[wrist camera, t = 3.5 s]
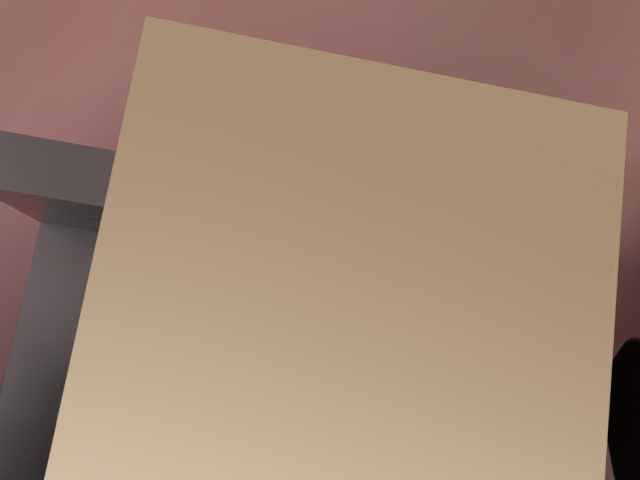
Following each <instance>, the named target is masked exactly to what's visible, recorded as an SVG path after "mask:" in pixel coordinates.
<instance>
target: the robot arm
mask: <svg viewBox="0 0 640 480" xmlns="http://www.w3.org/2000/svg"><path fill="white" fill-rule="evenodd" d="M607 441H608V446H609V452H610V457H611V462H612V468H613V473H614V478H615V480H640V337H634V338H631V339H629V340H627V341H626V342H625V343H624V344H623V346H622V347H621V349H620V350H619V351H618V353H617V354H616V356H615V357H614V359H613V360H612V373H611V388H610V404H609V419H608V435H607Z"/></svg>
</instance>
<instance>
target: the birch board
mask: <svg viewBox="0 0 640 480" xmlns="http://www.w3.org/2000/svg"><path fill="white" fill-rule="evenodd" d="M627 123H628V112H625V111H620V110H614V109H610V108H604V107H599V106H594V105H589V104H584V103H579V102H574V101H569V100H564V99H559V98H554V97H549V96H544V95H539V94H534V93H529V92H524V91H519V90H514V89H509V88H504V87H499V86H494V85H489V84H484V83H479V82H474V81H469V80H464V79H459V78H454V77H449V76H444V75H439V74H434V73H429V72H424V71H419V70H414V69H409V68H404V67H399V66H394V65H389V64H384V63H379V62H374V61H369V60H364V59H359V58H354V57H349V56H344V55H339V54H334V53H329V52H324V51H319V50H314V49H309V48H304V47H299V46H294V45H289V44H284V43H279V42H274V41H269V40H264V39H259V38H254V37H249V36H244V35H239V34H234V33H229V32H224V31H219V30H214V29H209V28H204V27H199V26H194V25H189V24H184V23H179V22H174V21H169V20H164V19H159V18H154V17H149V16H146V17H145V22H144V27H143V31H142V36H141V40H140V45H139V49H138V54H137V58H136V63H135V68H134V72H133V77H132V81H131V86H130V90H129V95H128V100H127V104H126V109H125V113H124V118H123V122H122V127H121V131H120V136H119V141H118V145H117V150H116V154H115V159H114V163H113V168H112V172H111V177H110V182H109V186H108V191H107V195H106V200H105V204H104V209H103V214H102V218H101V223H100V227H99V232H98V236H97V241H96V245H95V250H94V255H93V259H92V264H91V268H90V273H89V277H88V282H87V286H86V291H85V296H84V300H83V305H82V309H81V314H80V318H79V323H78V328H77V332H76V337H75V341H74V346H73V350H72V355H71V359H70V364H69V369H68V373H67V378H66V382H65V387H64V391H63V396H62V400H61V405H60V410H59V414H58V419H57V423H56V428H55V432H54V437H53V442H52V446H51V451H50V455H49V460H48V464H47V469H46V473H45V478H44V480H605V466H606V451H607V435H608V419H609V404H610V388H611V373H612V357H613V341H614V326H615V310H616V295H617V279H618V263H619V248H620V232H621V216H622V201H623V185H624V170H625V154H626V138H627Z"/></svg>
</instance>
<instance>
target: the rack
mask: <svg viewBox="0 0 640 480" xmlns="http://www.w3.org/2000/svg"><path fill="white" fill-rule="evenodd" d="M115 154H116V151H112V150H106V149H101V148H95V147H90V146H84V145H78V144H73V143H67V142H62V141H56V140H50V139H45V138H39V137H33V136H28V135H22V134H17V133H11V132H5V131H0V201H2V202H4V203H6V204H7V205H9V206H11V207H13V208H15V209H17V210H19V211H21V212H22V213H24V214H26V215H28V216H30V217H32V218H34V219H36V220H37V221H39V222H41V225H40V229H39V233H38V238H37V242H36V246H35V250H34V255H33V259H32V263H31V267H30V271H29V276H28V280H27V284H26V288H25V293H24V297H23V301H22V305H21V309H20V314H19V318H18V322H17V326H16V331H15V335H14V339H13V343H12V347H11V352H10V356H9V360H8V364H7V368H6V373H5V377H4V381H3V385H2V390H1V394H0V480H44V478H45V473H46V469H47V464H48V460H49V455H50V451H51V446H52V442H53V437H54V432H55V428H56V423H57V419H58V414H59V410H60V405H61V400H62V396H63V391H64V387H65V382H66V378H67V373H68V369H69V364H70V359H71V355H72V350H73V346H74V341H75V337H76V332H77V328H78V323H79V318H80V314H81V309H82V305H83V300H84V296H85V291H86V286H87V282H88V277H89V273H90V268H91V264H92V259H93V255H94V250H95V245H96V241H97V236H98V232H99V227H100V223H101V218H102V214H103V209H104V204H105V200H106V195H107V191H108V186H109V182H110V177H111V172H112V168H113V163H114V159H115Z"/></svg>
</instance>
